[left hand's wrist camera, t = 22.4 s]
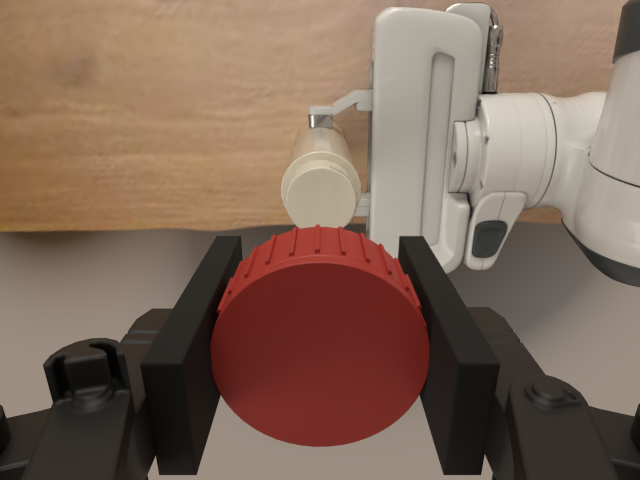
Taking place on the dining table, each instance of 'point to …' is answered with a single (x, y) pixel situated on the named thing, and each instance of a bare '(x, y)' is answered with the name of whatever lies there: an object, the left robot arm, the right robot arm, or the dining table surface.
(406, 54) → the right robot arm
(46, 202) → the dining table surface
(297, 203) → the cream slim bottle
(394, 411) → the lid
